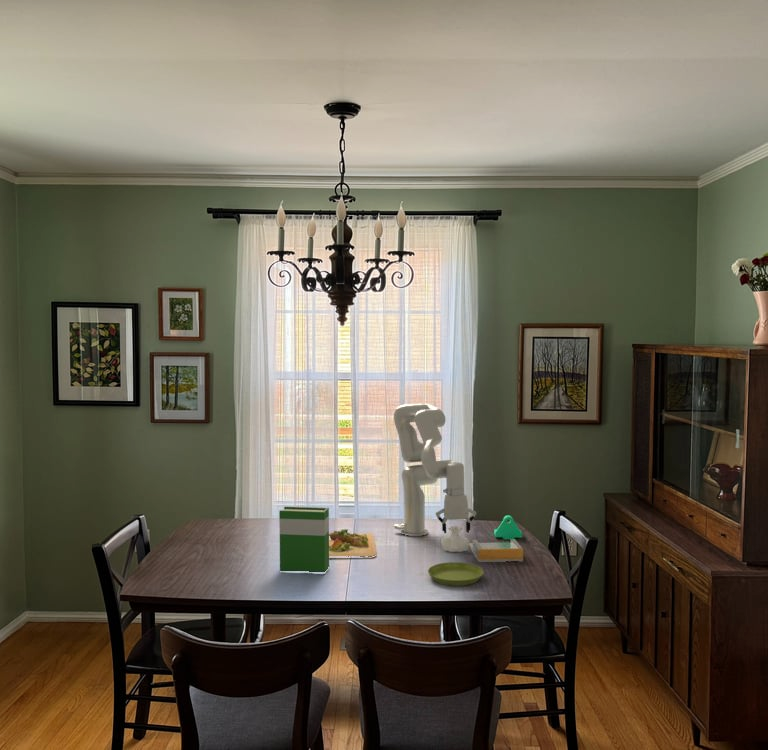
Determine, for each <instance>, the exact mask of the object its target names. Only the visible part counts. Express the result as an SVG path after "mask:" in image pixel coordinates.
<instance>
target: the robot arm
mask: <svg viewBox="0 0 768 750" xmlns="http://www.w3.org/2000/svg"><path fill="white" fill-rule="evenodd" d="M393 420H394V421H393V422H394V426H395V429H396V431H397V434H398V439H399V446H400V450H401V451H400V452H401V457H402V459H403V461H404V462H405V463H408V464H409V463H410V464H411V463H421V464H413V465H409V466H406V467H404V469H402V472H401V479H402V485H403V500H404V501H403V502H404V503H403V505H404V507H403V509H404V510H403V511H404V512H403V513H404V515H403V519H404V521H403V522H402V523H401V524H394V525H393V526H394V530H397V531H398V530H400V533H403V534H405V535H404V536H406V535H410V536H409V537H423V536H422V535H424V536H426V534H427V535H428V534H429V530H428V529H427V528H426V527H425V522H426V519H425V517H426V515H425V512H426V511H425V507H426V506H425V502H426V501H425V498H426V497H425V492H424V491H423V489H422V487H421V486H427V485H433V484H436V482H438V480H440V479H445V481H446V482H445V483H446V488H445V489H443V490H442V491H443V494H445V495H444V499H443V500H444V503H443V508H442V509H440V510H438V511H436V512H435V516H436V518H437V519H438V521H439V522H440V523H441V525H442V526H441V527H442V530H441V531H442V532H443V533H444V534H446V533H447V523H446V522H447V521H453V520H454V521H456V520H459V521H460V520H466V522H465V531H466V533H469V532H470V531H471V523H472V521H473V520H474V519H475V517H476V516H477V511H475V510H473V509H471V508H469V502H468V497H467V495H466V494H465V466H464V464H463V463H462V462H458V461H454V460H452V459H447V460H446V459H445V460H437V457H436V452H435V447H436V446H437V445H440V443H441V442H442V440H443V437H442V434H441V432H440V429H439V428H441V427H443V426H444V425H445V423H446V421H447V420H446V415H445V413H444V411H442V410H441V409H440V408H438V407H436V406H433V405H431V404H429V403H409V404H402V405H399V406H398V407H396V408H395V410H394V413H393ZM411 423H415V426H416V428H417V430H418V432H417V430H416V429H415V428H414V426H413V425H412V424H411ZM417 433H419V434H420V437H421V440H422V441H419V439H418V434H417ZM469 513H470V514H471V516H470V515H469ZM442 514H443V516H444V517H443V518H442V517H441V515H442ZM469 516H470V517H469ZM403 534H402V535H403Z"/></svg>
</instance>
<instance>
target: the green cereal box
mask: <svg viewBox="0 0 768 750" xmlns="http://www.w3.org/2000/svg"><path fill="white" fill-rule="evenodd" d="M278 512H279V513H278V515H279V518H278V519H279V521H278V522H279V572H280V571H309V572H325V571H326V570H327V569H328V567H329V568H330V559H329V534H330V508H329V507H317V506H316V507H315V506H311V507H310V506H284V507H283V509H282V510H279V511H278Z"/></svg>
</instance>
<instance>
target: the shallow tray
mask: <svg viewBox="0 0 768 750" xmlns="http://www.w3.org/2000/svg"><path fill="white" fill-rule="evenodd" d="M469 548H470V549H471V551H472V553H473V555H474V556H475V558H476V560H477V562H478V563H504V562H505V563H506V561H509V562H508V563H510V561H519V562H524V549H523V547H522V546H521V545H520V544H519V542H518V541H517V540H516V538H514V539H510V542H509V541H508V542H507V541H505V542H504V541H503V542H479V541H478V540H477V539H472V542H469Z"/></svg>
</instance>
